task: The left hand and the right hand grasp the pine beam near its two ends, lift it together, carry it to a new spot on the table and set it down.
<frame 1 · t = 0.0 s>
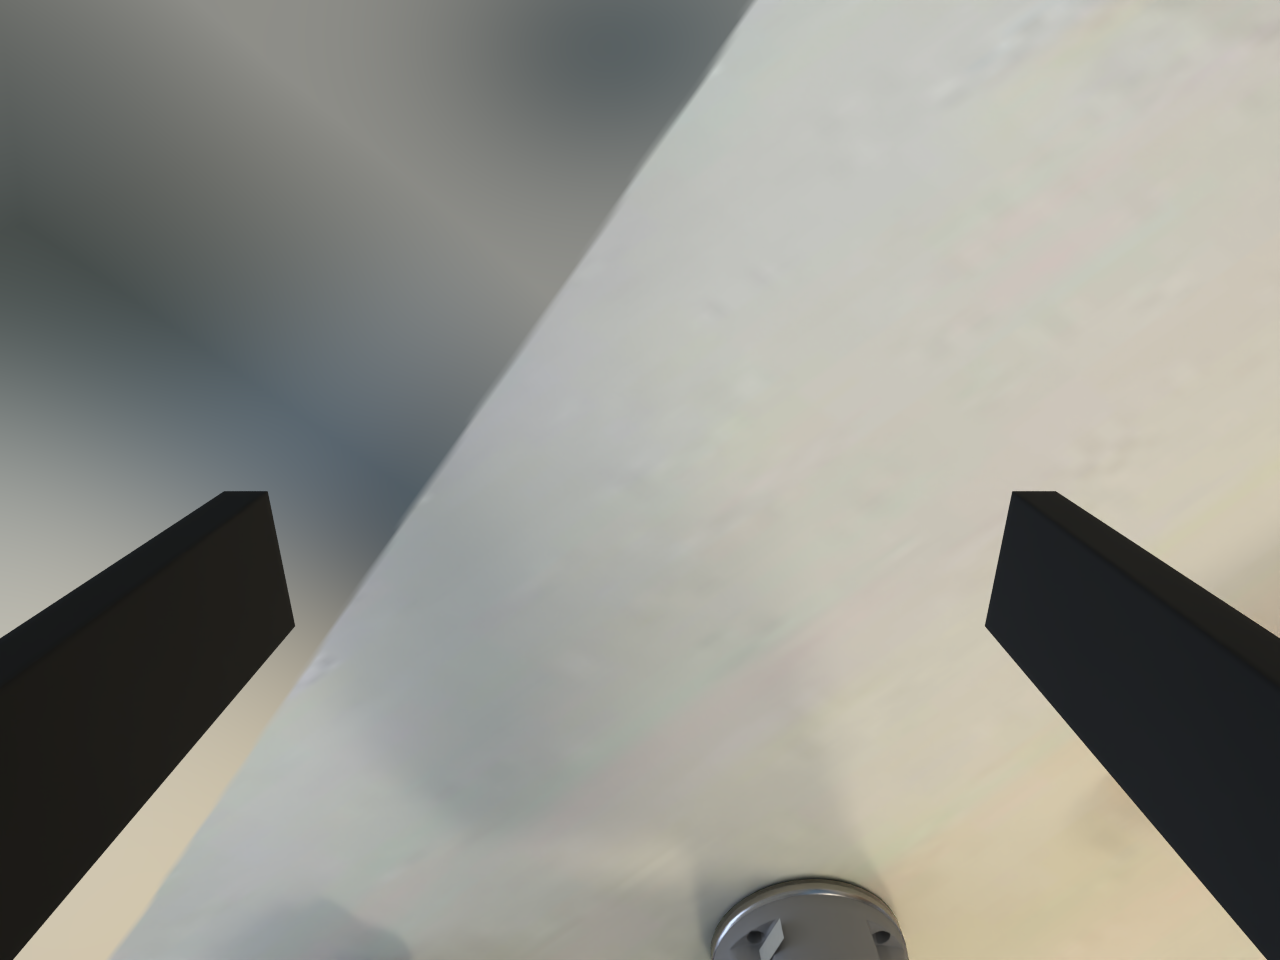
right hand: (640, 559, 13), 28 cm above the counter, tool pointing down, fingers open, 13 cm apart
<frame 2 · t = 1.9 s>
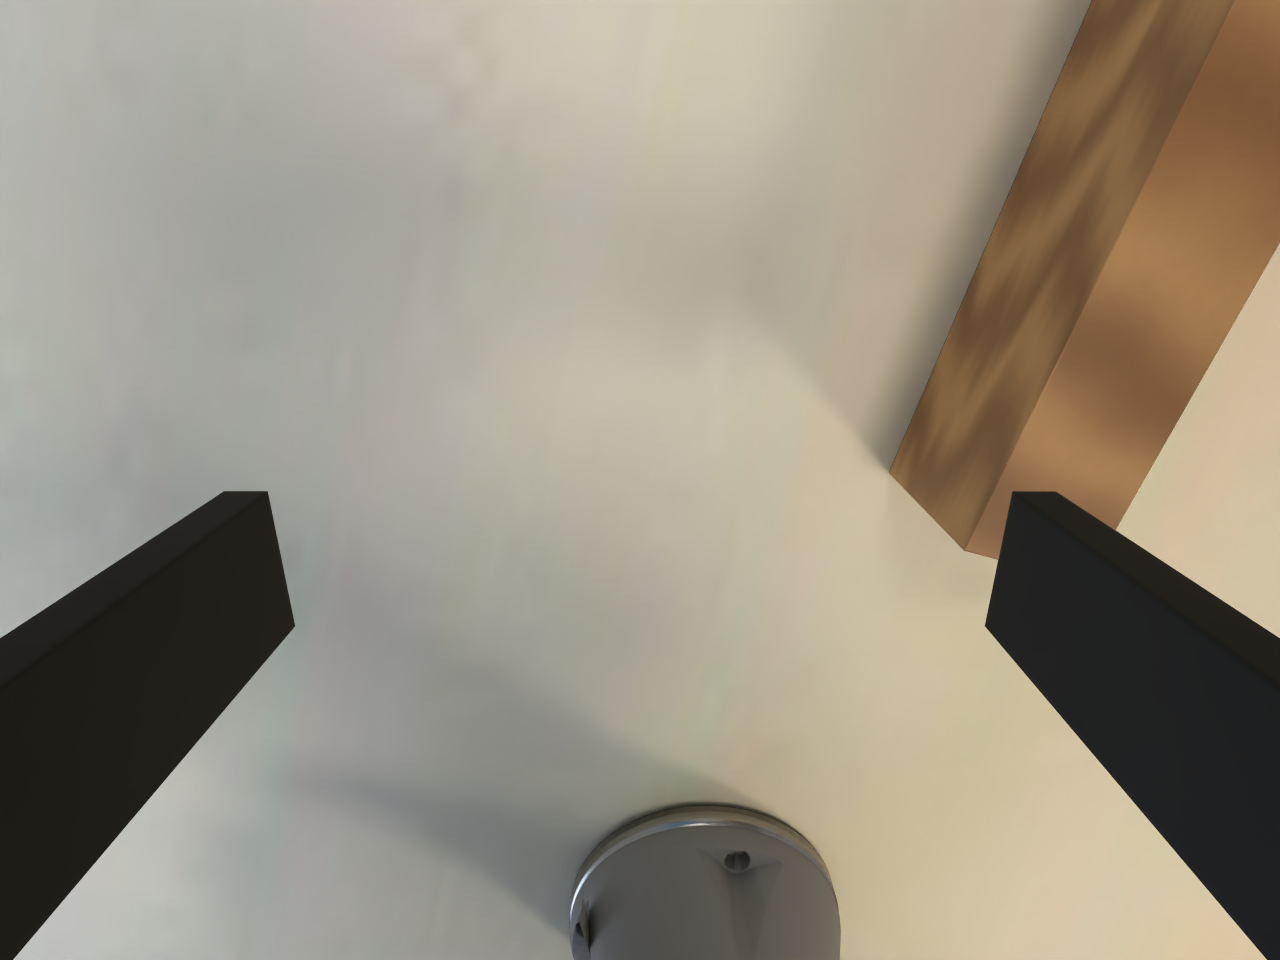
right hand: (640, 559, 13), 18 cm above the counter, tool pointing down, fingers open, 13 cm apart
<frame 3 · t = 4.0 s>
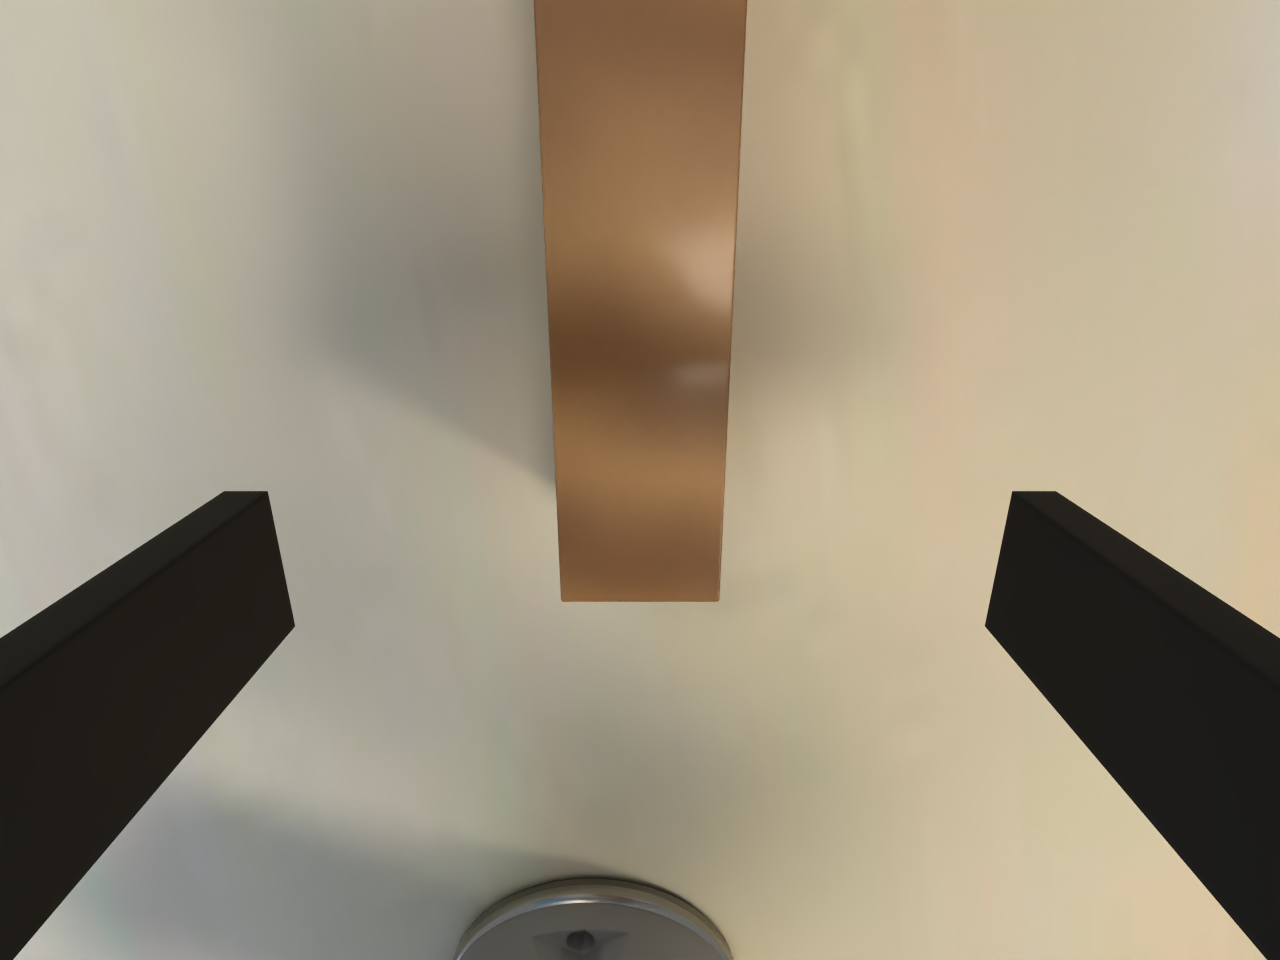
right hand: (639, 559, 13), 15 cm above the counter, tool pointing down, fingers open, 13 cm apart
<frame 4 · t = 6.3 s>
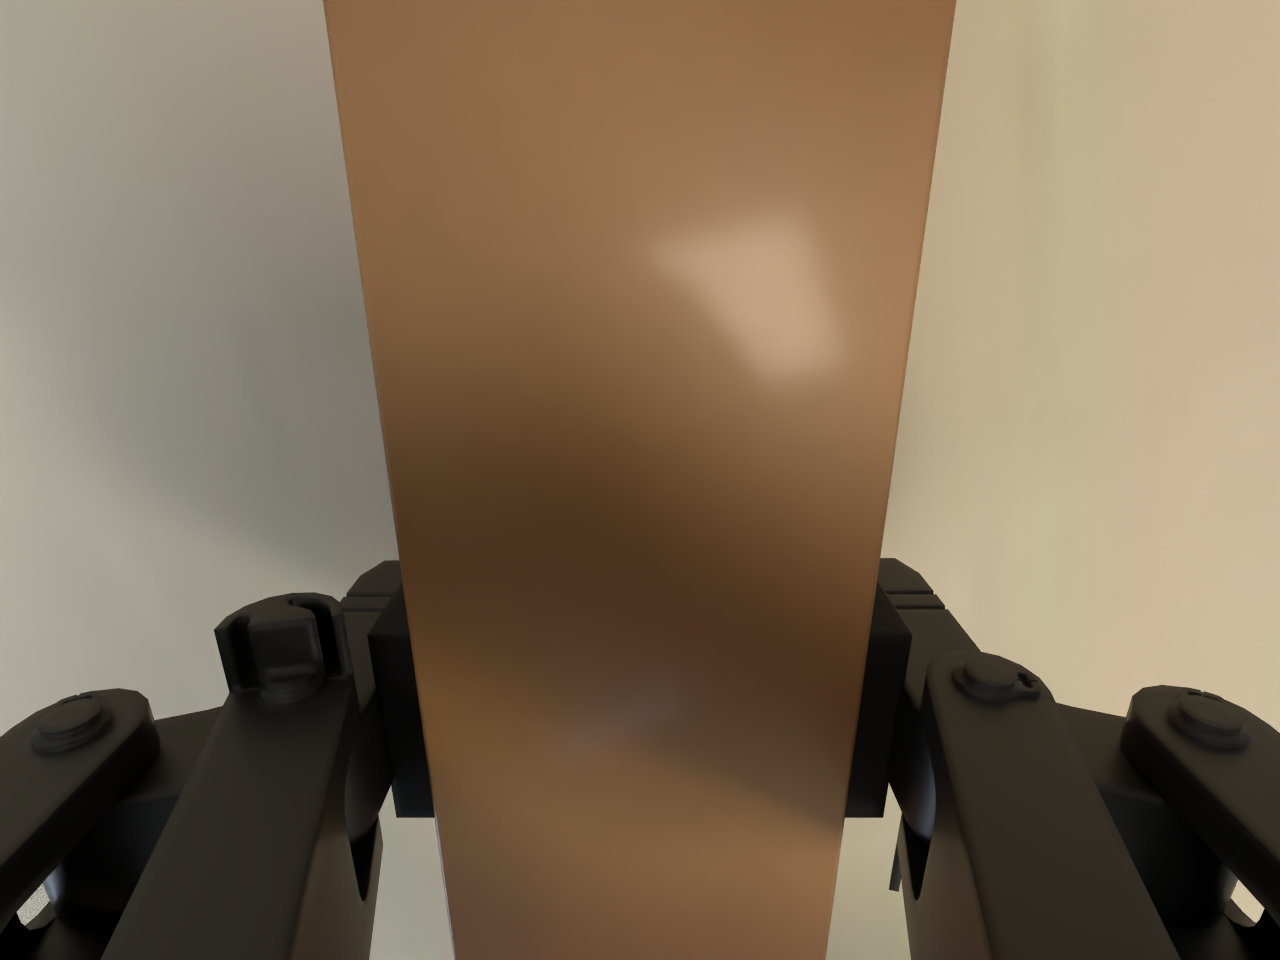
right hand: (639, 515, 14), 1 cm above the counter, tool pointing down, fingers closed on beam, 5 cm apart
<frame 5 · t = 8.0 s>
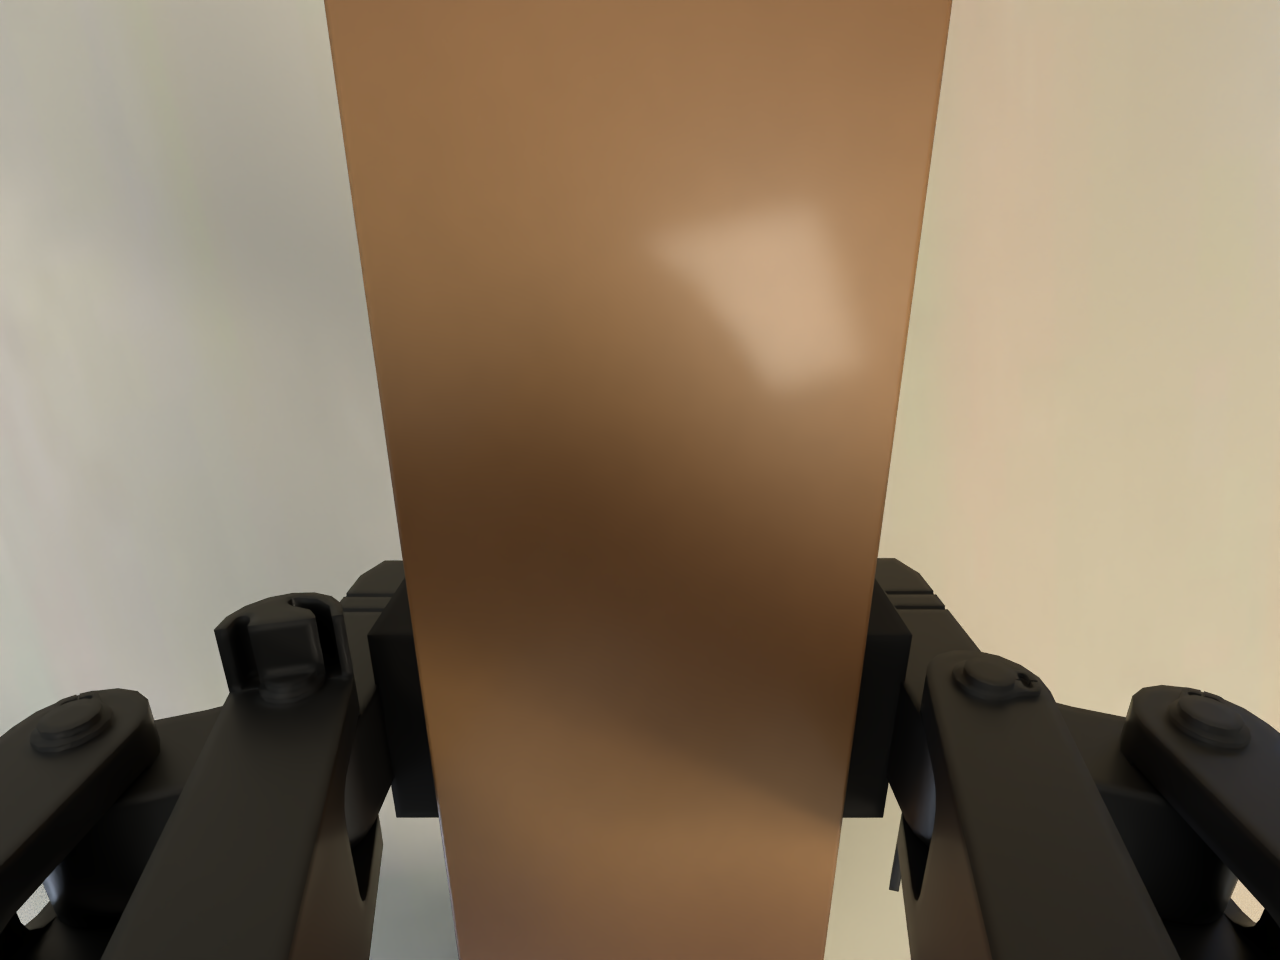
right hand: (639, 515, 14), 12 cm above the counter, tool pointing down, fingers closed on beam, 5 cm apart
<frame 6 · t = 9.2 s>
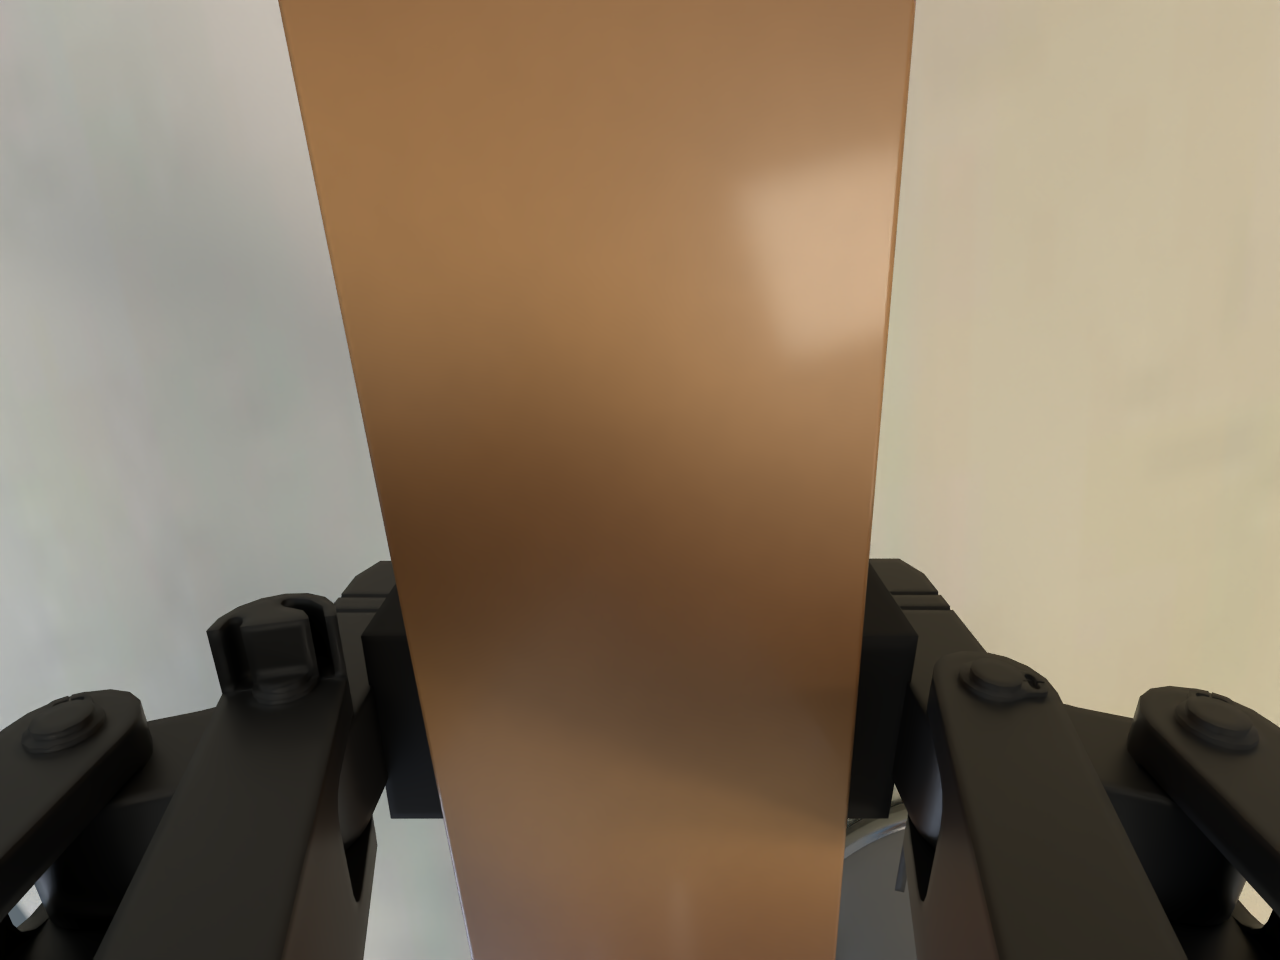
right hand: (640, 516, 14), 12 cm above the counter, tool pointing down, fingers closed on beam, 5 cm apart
when the right hand's fingers open (2 cm above the counter, at t = 12.1 s): beam stays where it is, on the counter.
when the left hand's fingers open (4 cm above the counter, at t = 12.3 s): beam stays where it is, on the counter.
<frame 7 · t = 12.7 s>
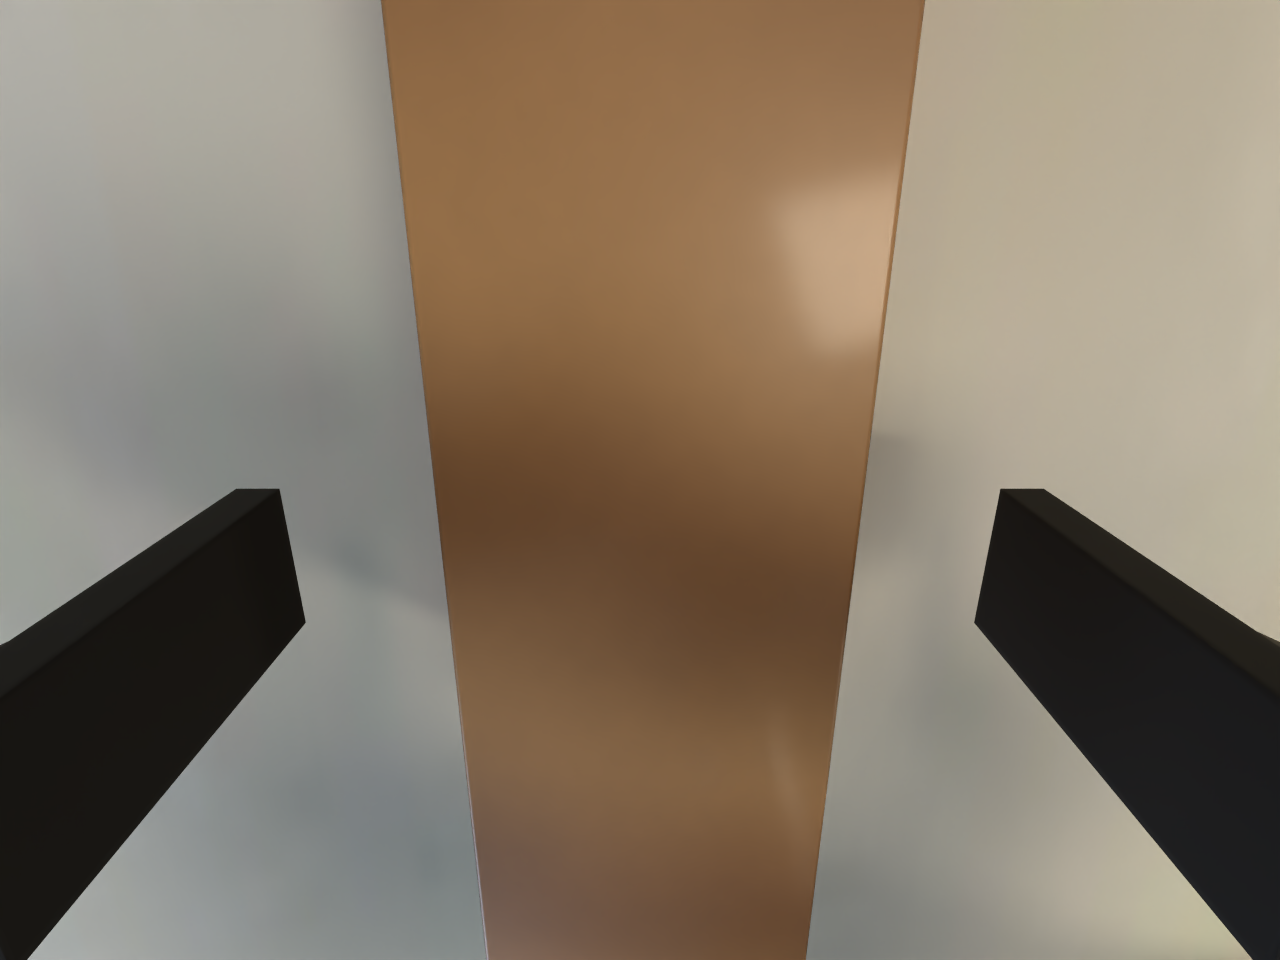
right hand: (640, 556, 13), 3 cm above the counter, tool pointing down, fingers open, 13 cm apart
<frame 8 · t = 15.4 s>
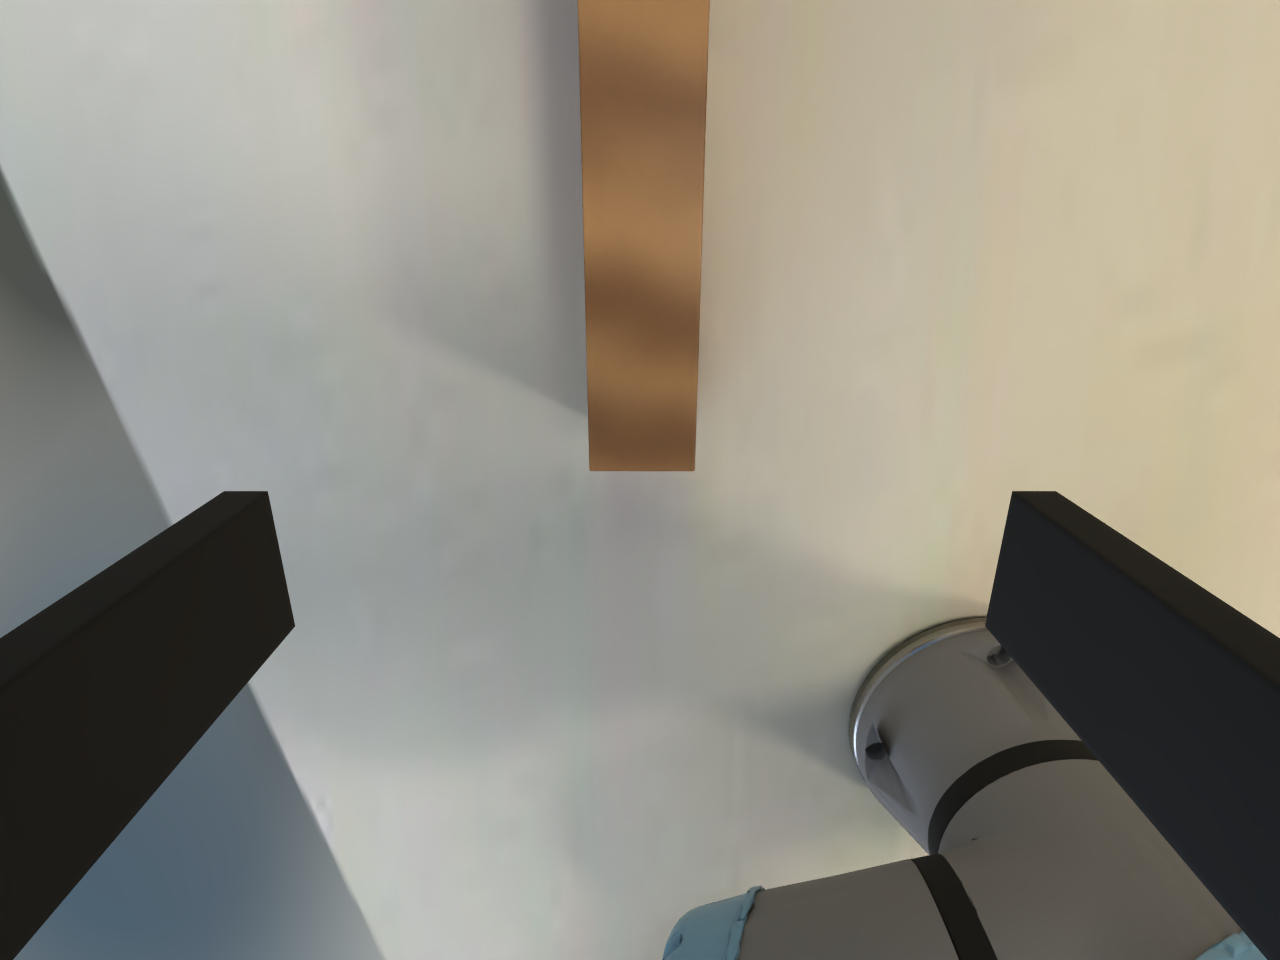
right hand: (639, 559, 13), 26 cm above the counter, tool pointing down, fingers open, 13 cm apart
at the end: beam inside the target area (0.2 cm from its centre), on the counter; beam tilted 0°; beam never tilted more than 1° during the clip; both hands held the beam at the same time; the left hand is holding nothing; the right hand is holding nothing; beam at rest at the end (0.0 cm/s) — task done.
